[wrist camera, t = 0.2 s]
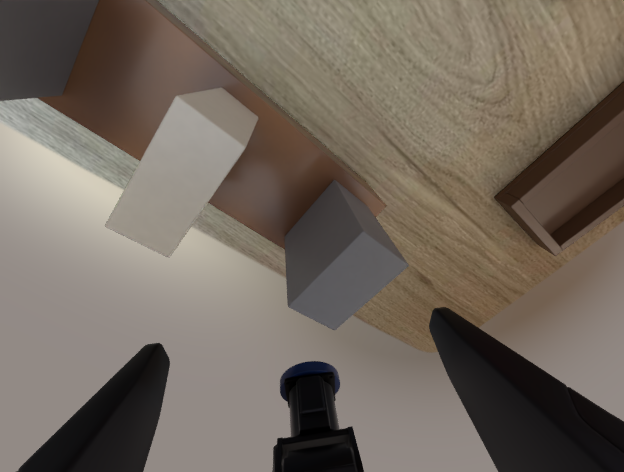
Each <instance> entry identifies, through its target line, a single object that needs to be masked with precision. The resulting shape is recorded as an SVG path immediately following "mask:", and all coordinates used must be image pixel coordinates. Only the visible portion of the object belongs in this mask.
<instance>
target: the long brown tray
mask: <svg viewBox="0 0 624 472" xmlns="http://www.w3.org/2000/svg"><path fill="white" fill-rule="evenodd" d="M494 198H495V199H496V200H497V201H498V202H499V203H500V204H501V205H502V207H503V208H504V209H505V210H506V211H507V212H508V213H509V214H510V215H511V216H512V217H513V218H514V220H515V221H516V222H517V223H518V224H519V225H520V226H521V227H522V228H523V229H524V230H525V231H526V232H527V234H528V235H529V236H530V237H531V238H532V239H533V240H534V241H535V242H536V243H537V244H538V245H539V246H540V247H542V248H544V249H545V250H547V251H548V252H550V253H551V254H553V255H554V256H556V255H558V254H559V253H560V252H562V251H563V250H565V249H566V248H567V247H569V246H570V245H571V244H573V243H574V242H575V241H577V240H578V239H580V238H581V237H582V236H584V235H585V234H586V233H588V232H589V231H590V230H592V229H593V228H594V227H596V226H597V225H598V224H600V223H601V222H603V221H604V220H605V219H607V218H608V217H609V216H611V215H612V214H613V213H615V212H616V211H617V210H619V209H620V208H621V207H623V206H624V82H623V83H622V84H621V85H620V86H619V87H618V88H616V89H615V90H614V91H613V92H612V93H611V94H610V95H609V96H607V97H606V98H605V99H604V100H603V101H602V102H601V103H600V104H599V105H597V106H596V107H595V108H594V109H593V110H592V111H591V112H590V113H588V114H587V115H586V116H585V117H584V118H583V119H582V120H581V121H579V122H578V123H577V124H576V125H575V126H574V127H573V128H572V129H570V130H569V131H568V132H567V133H566V134H565V135H564V136H563V137H561V138H560V139H559V140H558V141H557V142H556V143H555V144H554V145H553V146H551V147H550V148H549V149H548V150H547V151H546V152H545V153H544V154H542V155H541V156H540V157H539V158H538V159H537V160H536V161H535V162H533V163H532V164H531V165H530V166H529V167H528V168H527V169H526V170H524V171H523V172H522V173H521V174H520V175H519V176H518V177H517V178H516V179H514V180H513V181H512V182H511V183H510V184H509V185H508V186H507V187H505V188H504V189H503V190H502V191H501V192H500V193H499V194H498V195H496V196H495V197H494Z"/></svg>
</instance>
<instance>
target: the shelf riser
mask: <svg viewBox="0 0 624 472" xmlns="http://www.w3.org/2000/svg"><path fill="white" fill-rule="evenodd" d="M221 87H222V88H223V89H224V90H226V91H227V92H228V93H229V94H231V95H232V96H233V97H234V98H235V99H237V100H238V101H239V102H240V103H242V104H243V105H244V106H245V107H246V108H248V109H249V110H250V111H251V112H253V113H254V114H255V115H256V116H258V121H257V123H256V125H255V128H254V130H253V132H252V135H251V137H250V139H249V141H248V144H247V146H246V148H245V150H244V151H243V153H242V154H241V156H240V157H239V158H238V160H237V161H236V163H235V164H234V166H233V167H232V169H231V170H230V171H229V173H228V174H227V176H226V177H225V179H224V180H223V181H222V183H221V184H220V186H219V187H218V189H217V190H216V191H215V193H214V194H213V196H212V197H211V199H210V200H209V202H208V203H210V204H211V205H213V206H215V207H216V208H218V209H219V210H221V211H223V212H224V213H226V214H228V215H229V216H231V217H233V218H234V219H236V220H237V221H239V222H241V223H242V224H244V225H246V226H247V227H249V228H251V229H252V230H254V231H255V232H257V233H259V234H260V235H262V236H264V237H265V238H267V239H268V240H270V241H272V242H273V243H275V244H277V245H278V246H280V247H282V248H283V249H285V238H284V237H285V236H286V234H287V233H288V232H289V231H290V230H291V229H292V228H293V226H294V225H295V224H296V223H297V222H298V221H299V219H300V218H301V217H302V216H303V215H304V214H305V213H306V211H307V210H308V209H309V208H310V207H311V206H312V205H313V203H314V202H315V201H316V200H317V199H318V198H319V197H320V195H321V194H322V193H323V192H324V191H325V190H326V188H327V187H328V186H329V185H330V184H331V183H332V182H333V180H336V181H337V182H338V183H339V184H341V185H342V186H343V187H344V188H346V189H347V190H348V191H349V192H350V193H352V194H353V195H354V196H355V197H357V198H358V199H359V200H360V201H362V202H363V203H364V204H365V205H366V206H368V208H369V209H370V211H371V212H372V213H373V215H374V216H375V217H376V216H377V215H378V214H379V213H380V212H381V211H382V210H383V209H384V208H385V207H386V205H385V203H384V202H383V201H382V200H381V199H380V198H379V196H378V195H377V194H376V193H375V192H374V190H373V189H372V188H371V187H370V186H369V185H368V183H367V182H365V181H364V180H363V179H362V178H361V177H360V176H359V175H357V174H356V173H355V172H354V171H353V170H352V169H350V168H349V167H348V166H347V165H346V164H345V163H344V162H342V161H341V160H340V159H339V158H338V157H337V156H335V155H334V154H333V153H332V152H331V151H330V150H329V149H327V148H326V147H325V146H324V145H323V144H322V143H320V142H319V141H318V140H317V139H316V138H315V137H314V136H312V135H311V134H310V133H309V132H308V131H307V130H305V129H304V128H303V127H302V126H301V125H300V124H299V123H297V122H296V121H295V120H294V119H293V118H292V117H291V116H289V115H288V114H287V113H286V112H285V111H284V110H282V109H281V108H280V107H279V106H278V105H277V104H276V103H274V102H273V101H272V100H271V99H270V98H269V97H267V96H266V95H265V94H264V93H263V92H262V91H261V90H259V89H258V88H257V87H256V86H255V85H254V84H252V83H251V82H250V81H249V80H248V79H247V78H246V77H244V76H243V75H242V74H241V73H240V72H239V71H237V70H236V69H235V68H234V67H233V66H232V65H231V64H229V63H228V62H227V61H226V60H225V59H224V58H223V57H221V56H220V55H219V54H218V53H217V52H216V51H214V50H213V49H212V48H211V47H210V46H209V45H208V44H206V43H205V42H204V41H203V40H202V39H201V38H199V37H198V36H197V35H196V34H195V33H194V32H193V31H191V30H190V29H189V28H188V27H187V26H186V25H184V24H183V23H182V22H181V21H180V20H179V19H178V18H176V17H175V16H174V15H173V14H172V13H171V12H169V11H168V10H167V9H166V8H165V7H164V6H163V5H161V4H160V3H159V2H158V1H157V0H99V1H98V4H97V7H96V9H95V12H94V14H93V17H92V19H91V22H90V25H89V27H88V30H87V32H86V35H85V37H84V40H83V43H82V45H81V48H80V50H79V53H78V55H77V58H76V61H75V63H74V66H73V68H72V71H71V73H70V76H69V79H68V81H67V84H66V86H65V89H64V91H63V94H62V95H61V96H50V97H38V99H40V100H41V101H43V102H45V103H46V104H48V105H50V106H51V107H53V108H55V109H56V110H58V111H59V112H61V113H63V114H64V115H66V116H68V117H69V118H71V119H72V120H74V121H76V122H77V123H79V124H81V125H82V126H84V127H86V128H87V129H89V130H90V131H92V132H94V133H95V134H97V135H99V136H100V137H102V138H104V139H105V140H107V141H108V142H110V143H112V144H113V145H115V146H117V147H118V148H120V149H121V150H123V151H125V152H126V153H128V154H130V155H131V156H133V157H135V158H136V159H138V160H139V161H140V160H141V159H142V157H143V155H144V153H145V151H146V150H147V148H148V146H149V144H150V142H151V140H152V139H153V137H154V135H155V133H156V131H157V129H158V128H159V126H160V124H161V122H162V120H163V119H164V117H165V115H166V113H167V111H168V109H169V108H170V106H171V104H172V102H173V100H174V98H175V97H176V96H178V95H183V94H189V93H194V92H199V91H205V90H210V89H215V88H221Z"/></svg>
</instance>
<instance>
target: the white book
mask: <svg viewBox="0 0 624 472" xmlns="http://www.w3.org/2000/svg"><path fill="white" fill-rule="evenodd" d="M257 121H258V116H256V115H255V114H254V113H253V112H251V111H250V110H249V109H248V108H246V107H245V106H244V105H243V104H242V103H240V102H239V101H238V100H237V99H235V98H234V97H233V96H232V95H231V94H229V93H228V92H227V91H226V90H224V89H223V88H222V87H221V88H215V89H210V90H205V91H199V92H194V93H189V94H183V95H178V96H176V97H175V98H174V100H173V102H172V104H171V106H170V108H169V109H168V111H167V113H166V115H165V117H164V119H163V120H162V122H161V124H160V126H159V128H158V129H157V131H156V133H155V135H154V137H153V139H152V140H151V142H150V144H149V146H148V148H147V150H146V151H145V153H144V155H143V157H142V159H141V160H140V162H139V164H138V166H137V168H136V170H135V171H134V173H133V175H132V177H131V179H130V181H129V182H128V184H127V186H126V188H125V190H124V191H123V193H122V195H121V197H120V199H119V201H118V203H117V204H116V206H115V208H114V210H113V212H112V213H111V215H110V217H109V219H108V221H107V222H106V224H105V227H107V228H109V229H111V230H113V231H115V232H117V233H119V234H121V235H123V236H126V237H127V238H129V239H131V240H133V241H135V242H138V243H140V244H141V245H143V246H146V247H148V248H150V249H152V250H154V251H156V252H158V253H160V254H162V255H164V256H166V257H170V256H171V254H172V253H173V252H174V250H175V249H176V247H177V246H178V245H179V243H180V242H181V240H182V239H183V237H184V236H185V234H186V233H187V232H188V230H189V229H190V227H191V226H192V225H193V223H194V222H195V220H196V219H197V217H198V216H199V214H200V213H201V212H202V210H203V209H204V207H205V206H206V204H207V203H208V202H209V200H210V199H211V197H212V196H213V194H214V193H215V191H216V190H217V189H218V187H219V186H220V184H221V183H222V181H223V180H224V179H225V177H226V176H227V174H228V173H229V171H230V170H231V169H232V167H233V166H234V164H235V163H236V161H237V160H238V158H239V157H240V156H241V154H242V153H243V151H244V150H245V148H246V146H247V144H248V141H249V139H250V137H251V135H252V132H253V130H254V128H255V125H256V123H257Z"/></svg>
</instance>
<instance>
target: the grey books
mask: <svg viewBox="0 0 624 472" xmlns="http://www.w3.org/2000/svg"><path fill="white" fill-rule="evenodd" d="M98 1H99V0H0V101H3V100H15V99H27V98H38V97H50V96H61V95H62V94H63V91H64V89H65V86H66V84H67V81H68V79H69V76H70V73H71V71H72V68H73V66H74V63H75V61H76V58H77V55H78V53H79V50H80V48H81V45H82V43H83V40H84V37H85V35H86V32H87V30H88V27H89V25H90V22H91V19H92V17H93V14H94V12H95V9H96V7H97V4H98ZM284 238H285V258H286V278H287V298H288V307H289V308H292V309H294V310H296V311H297V312H299V313H301V314H303V315H305V316H307V317H309V318H311V319H313V320H315V321H317V322H319V323H321V324H323V325H325V326H327V327H329V328H331V329H333V330H336V329H337V328H338V327H339V326H340V325H342V324H343V323H344V322H345V321H346V320H347V319H348V318H350V317H351V316H352V315H353V314H354V313H355V312H357V311H358V310H359V309H360V308H361V307H362V306H363V305H365V304H366V303H367V302H368V301H369V300H370V299H371V298H373V297H374V296H375V295H376V294H377V293H378V292H379V291H381V290H382V289H383V288H384V287H385V286H386V285H387V284H389V283H390V282H391V281H392V280H393V279H394V278H395V277H397V276H398V275H399V274H400V273H401V272H402V271H403V270H405V269H406V268H407V267H408V266H409V265H408V263H407V262H406V260H405V259H404V257H403V256H402V255H401V253H400V252H399V250H398V249H397V248H396V246H395V245H394V243H393V242H392V240H391V239H390V238H389V236H388V235H387V233H386V232H385V230H384V229H383V228H382V226H381V225H380V223H379V222H378V221H377V219H376V218H375V216H374V215H373V213H372V212H371V211H370V209H369V208H368V206H366V205H365V204H364V203H363V202H362V201H360V200H359V199H358V198H357V197H355V196H354V195H353V194H352V193H350V192H349V191H348V190H347V189H346V188H344V187H343V186H342V185H341V184H339V183H338V182H337V181H336V180H333V182H332V183H331V184H330V185H329V186H328V187H327V188H326V190H325V191H324V192H323V193H322V194H321V195H320V197H319V198H318V199H317V200H316V201H315V202H314V203H313V205H312V206H311V207H310V208H309V209H308V210H307V211H306V213H305V214H304V215H303V216H302V217H301V218H300V219H299V221H298V222H297V223H296V224H295V225H294V226H293V228H292V229H291V230H290V231H289V232H288V233H287V234H286V236H285V237H284Z"/></svg>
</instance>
